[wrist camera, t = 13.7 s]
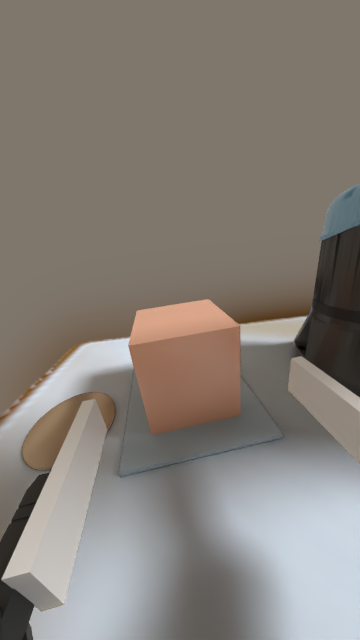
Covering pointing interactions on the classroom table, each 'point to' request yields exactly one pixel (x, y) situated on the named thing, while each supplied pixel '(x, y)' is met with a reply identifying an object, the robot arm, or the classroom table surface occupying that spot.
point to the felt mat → (191, 434)
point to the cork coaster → (60, 429)
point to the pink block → (186, 365)
